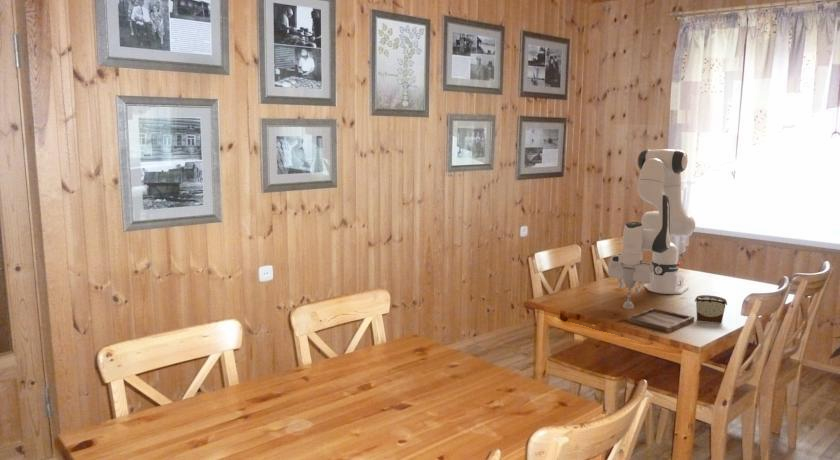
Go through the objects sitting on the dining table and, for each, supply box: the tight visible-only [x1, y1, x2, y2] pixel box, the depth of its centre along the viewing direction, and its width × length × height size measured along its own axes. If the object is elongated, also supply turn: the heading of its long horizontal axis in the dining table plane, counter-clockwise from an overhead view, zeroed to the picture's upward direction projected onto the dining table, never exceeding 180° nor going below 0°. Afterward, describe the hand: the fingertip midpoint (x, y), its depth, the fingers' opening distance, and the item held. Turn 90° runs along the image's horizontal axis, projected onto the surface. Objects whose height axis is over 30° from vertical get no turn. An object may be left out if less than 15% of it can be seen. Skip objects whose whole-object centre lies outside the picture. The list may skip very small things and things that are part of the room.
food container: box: [694, 294, 728, 324], centre depth 260 cm, size 12×6×10 cm, turn 71°
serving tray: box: [626, 307, 695, 334], centre depth 258 cm, size 22×18×2 cm
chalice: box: [622, 267, 638, 310], centre depth 278 cm, size 7×7×18 cm
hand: (629, 289), depth 278 cm, fingers open, 6 cm apart
